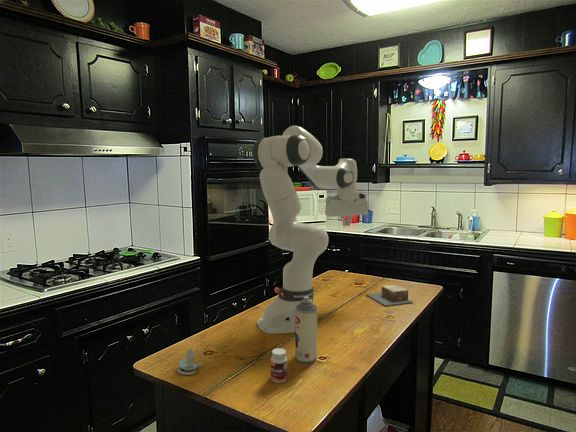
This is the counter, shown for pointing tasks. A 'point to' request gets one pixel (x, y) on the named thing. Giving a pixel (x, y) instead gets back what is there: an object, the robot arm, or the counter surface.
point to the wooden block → (394, 292)
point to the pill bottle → (279, 365)
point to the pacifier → (188, 364)
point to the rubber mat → (386, 300)
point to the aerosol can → (306, 331)
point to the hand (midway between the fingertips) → (346, 225)
